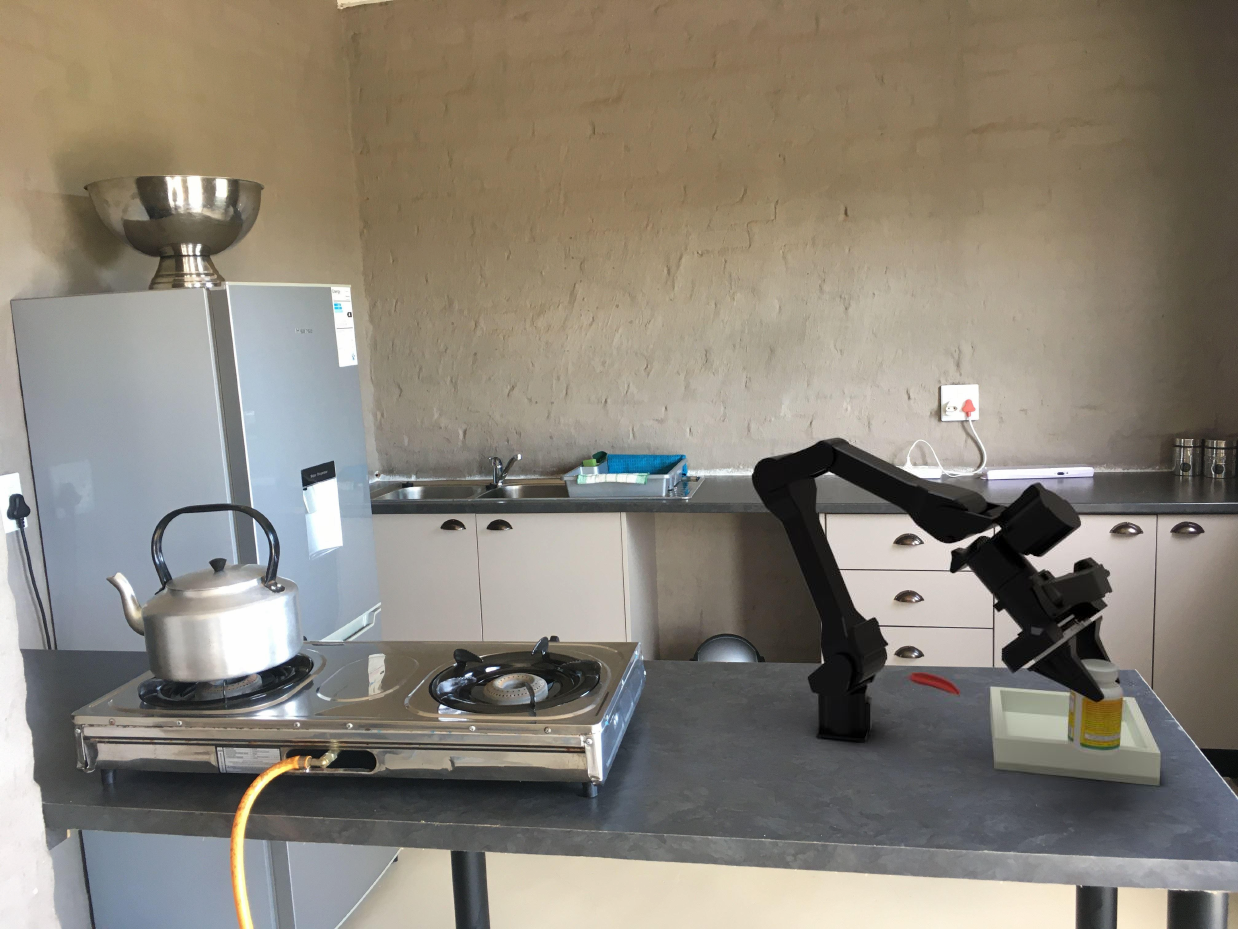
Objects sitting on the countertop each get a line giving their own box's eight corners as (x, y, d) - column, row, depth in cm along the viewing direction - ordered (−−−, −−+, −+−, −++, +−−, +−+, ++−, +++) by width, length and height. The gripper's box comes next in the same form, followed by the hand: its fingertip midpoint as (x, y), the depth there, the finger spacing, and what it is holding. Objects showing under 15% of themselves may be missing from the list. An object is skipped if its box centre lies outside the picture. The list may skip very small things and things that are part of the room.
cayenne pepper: (899, 675, 155) (900, 663, 154) (926, 672, 156) (926, 661, 155) (939, 702, 143) (939, 690, 143) (968, 699, 144) (968, 687, 144)
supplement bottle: (1056, 742, 112) (1060, 660, 111) (1091, 733, 114) (1094, 653, 113) (1096, 760, 107) (1100, 675, 106) (1131, 751, 109) (1135, 668, 108)
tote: (994, 768, 120) (995, 737, 120) (989, 713, 137) (990, 686, 137) (1159, 786, 115) (1160, 753, 114) (1133, 726, 131) (1134, 697, 131)
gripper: (1034, 554, 103) (1144, 678, 97) (1092, 525, 117) (1191, 632, 111) (960, 613, 110) (1058, 733, 104) (1023, 579, 123) (1113, 683, 117)
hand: (1109, 692), depth 109 cm, fingers closed on supplement bottle, 5 cm apart
